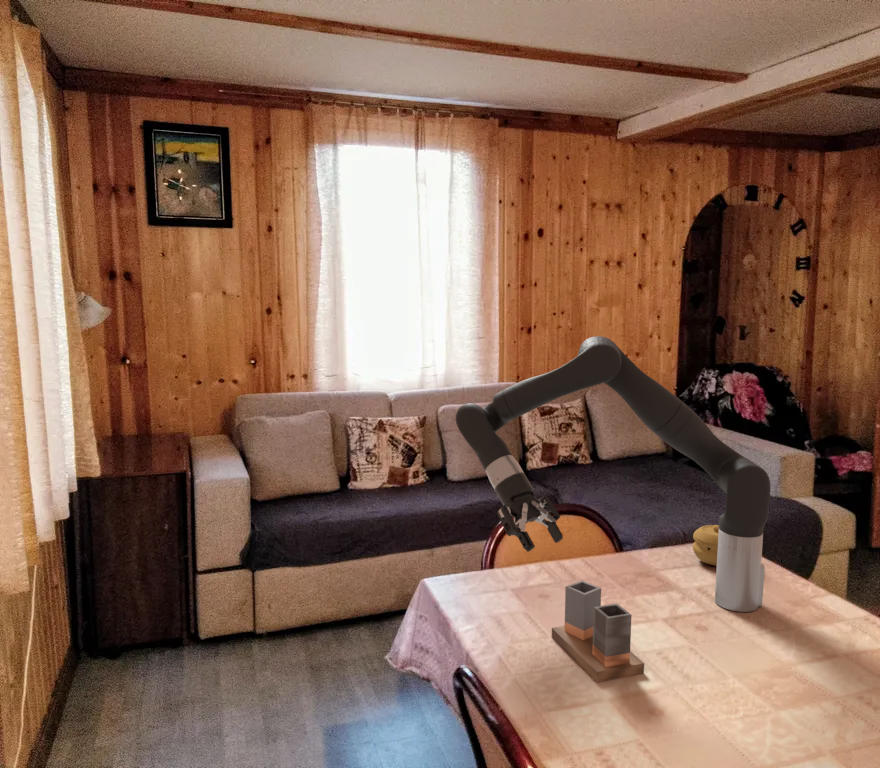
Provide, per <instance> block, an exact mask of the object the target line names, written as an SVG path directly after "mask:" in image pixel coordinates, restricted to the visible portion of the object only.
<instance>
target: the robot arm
mask: <svg viewBox="0 0 880 768" xmlns="http://www.w3.org/2000/svg"><path fill="white" fill-rule="evenodd" d="M601 384H605V385H607V386H608V387H610V388H611V389H612V390H613V391H615V393H617V394H618V395H619V397H621V399H623V400H624V402H625V403H626V404H627V405H628V407H630V409H631V411H632V412H633V413H634V414H635V415H636V416H637V417H638V418H639V420H640V421H641V422H642V423H643V425H645V426H646V427H647V428H648V429H649V430H650V431H651V432H653V433H654V435H656V436H657V437H659V439H661V440H662V442H664V443H666V444H668V445H669V446H670V447H672V448H673V449H674V450H676V451H678V452H679V453H681V454H683V455H684V456H686V457H687V458H689V459H690V460H692V461H693V462H695V463H696V464H697V465H698V466H699V467H700V468H701V469H703V470H704V471H705V472H706V474H708V475H709V476H710V478H712V480H713V481H714V482H715V483H716V484H717V485H718V486H719V488H720V489H721V490H722V491H723V492H724V493H725V495H726V496H725V505H724V506H725V507H724V512H723V513H722V514H721V515H720V516H719V520H718V525H719V532H718V551H717V566H716V572H715V573H716V575H715V589H714V591H715V592H714V602H715V603H716V605H718V606H720V607H721V608H723V609H727V610H729V611H734V612H740V613H749V612H754V611H757V610H758V608H759V607H762V606H763V597H764V586H765V585H764V584H765V583H764V582H765V581H764V580H765V565H764V564H763V563H762V558H763V557H762V556H763V543H764V541H763V540H764V539H763V538H764V528H765V526H766V524H767V522H768V518H769V508H770V500H771V499H770V498H771V480H770V475H768V473H767V471H766V470H765V469H764V468H763V467H761V466H760V465H758V464H757V463H755V462H754V461H752V460H751V459H749V458H747V457H745V456H743V455H742V454H740V453H738V451H736V450H734V449H733V448H732V447H730V446H729V445H727V444H726V443H724V442H723V441H722V440H720V439H719V437H717V436H716V435H715V433H714V432H713V431H712V430H711V429H710V427H709V426H708V425H707V424H706V423H705V421H704V420H703V419H702V418H701V417H700V416H699V415H698V414H697V413H696V412H695V411H694V410H693V409H691V407H689V406H688V405H687V404H686V403H684V402H683V400H682V399H680V398H679V397H677V396H676V395H675V394H673V393H672V392H671V391H670V390H668V389H667V388H665V387H664V386H662V385H663V384H660V383H659V382H658V381H656V380H655V379H653V378H652V377H650V376H649V375H648V374H646V373H645V372H644V371H643V370H641V369H640V368H639V367H638V366H637V365H636V364H635V363H634V362H633V361H632V360H631V358H629V357H628V356H627V355H626V354H625V353H624V351H623V350H622V349H621V348H620V347H619V346H618V345H617V344H616V343H615V342H614V341H613V340H612V339H610V338H608V337H606V336H605V337H604V336H600V335H598V336H590V337H588V338H587V339H585V340H584V341H583V342H582V343H581V345H580V346H579V349H578V352H577V356H576V357H574V358H572V359H571V360H569V362H566V363H565V364H563V365H561V366H560V367H558V368H556V369H553V370H551V371H548V372H546V373H543V374H539V375H536V376H533V377H529V378H527V379H523V380H521V381H519V382H517V383H515V384H512V385H510V386H508V387H507V388H504V389H503V390H501V391H499V392H497V393H496V394H494V396H493V398H492V402H491V403H488V404H487V405H485V406H484V407H482V406H481V405H478V404H476V403H472V402H471V403H470V402H469V403H464V404H462V405H461V406H460V407H459V408H458V409H457V411H456V412H455V413H456V414H455V422H456V426H457V429H458V431H459V432H460V434H461V435H462V436H463V438H464V439H465V441H466V442H467V444H468V445H469V446H470V447H471V448H472V450H473V451H474V454H476V456H477V458H478V459H479V462H480V464H481V466H482V467H483V469H484V471H485V474H486V476H487V477H488V480H489V483H490V484H491V486H492V488H493V489H494V492H495V493H496V495H497V497H498V498H499V500H500V502H501V504H502V507H500V509H499V510H498V511H497V512H496V515H497V517H498V519H499V521H500V523H501V525H502V526H503V529H504V530H505V533H506V536H509V537H512V536H515V537H516V538H517V539H518V540H519V542H520V544H521V545H522V548H524V550H525V551H526V553H528V552H531V551H532V550H534V549H535V548H536V547H535V546H536V545H535V543H534V542H533V540H532V538H531V537H530V534H529V533H528V531H526V524H528V523H532V522H536V523H537V524H542V525H543V526H545V527H546V528H547V529H546V530H547V531H548V533H549V534H550V536H551V538H552V540H553V541H554V543H555V544H557V543H560V541H562V540H563V539H564V538H563V537H564V536H563V533H562V532H561V530H560V528H559V526H558V524H557V521H558V520H559V519H560V518H561V515H560V514H559V512H558V510H557V509H556V507H555V506H554V504H553V502H552V501H551V500H550V498H549V497H548V495H546V494H544V495H543V496H542V497H541V498H537V497H536V496H535V495H534V494H535V493H534V488H533V485H532V484H531V482H530V481H529V479H528V477H527V476H526V474H525V472H524V471H523V469H522V467H521V465H520V464H519V462H518V461H517V460H516V459H515V457H514V456H513V454H512V452H511V451H510V449H509V446H508V445H507V444H506V442H505V441H504V440H503V438H501V437H500V435H498V434H497V432H498V431H499V430H500V429H502V428H504V426H505V425H507V424H508V423H510V421H513V420H516V419H517V418H519V417H521V416H523V415H525V414H528V413H530V412H532V411H533V410H535V409H538V408H539V407H542V406H544V405H546V404H548V403H550V402H553V401H554V400H557V399H559V398H562V397H564V396H567V395H570V394H572V393H575V392H577V391H581V390H584V389H588V388H591V387H594V386H598V385H601Z"/></svg>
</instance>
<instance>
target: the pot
mask: <svg viewBox="0 0 880 768" xmlns="http://www.w3.org/2000/svg"><path fill="white" fill-rule="evenodd" d="M718 532H719V524H710V525H709V524H707V525H703V526H700V527H699V528H697V529H696V530H695V531H694V532H693V535H692V537H693V540H694V542H693V543H692V550H693V552H694V554H695V556H696V558H698V559H699V561H701V562H703V563H704V564H707V565H711V566H715V567H717V551H718Z"/></svg>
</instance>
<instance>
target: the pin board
mask: <svg viewBox="0 0 880 768" xmlns="http://www.w3.org/2000/svg"><path fill="white" fill-rule="evenodd" d="M631 636H632V614H631V613H630V612H629V611H628V610H627V609H625V608H623V606H621V605H620V604H618V603H612V604H603V605H601V606H597V607H594V618H593V636H592V637H590V638H587V639H585V640H582V639H580V638H578V637H576V636H574V635H572V634H570V633H568V632H566V631H565V625H562V626H561V625H560V626H556V627H552V628H551V638H552V639H553V640H554V641H555V642H556V643H557V644H558V645H559V646H560V647H561V649H563V650H564V651H565V652H566V654H567V655H569V656H570V657H571V658H572V660H573V661H575V662H576V663H577V664H578V665H579V667H581V668H582V669H583V670H584V671H585V672H586V673H587V674H588V675H589V677H591V679H593V681H595V682H596V683H600V682H605V681H611V680H615V679H621V678H627V677H630V676H637V675H642V674H645V662H643V660H641V659H640V658H639V657H638V656H637V655H635V653H633V652H632V651H631V643H632V642H631V640H632V637H631Z"/></svg>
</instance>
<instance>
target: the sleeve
mask: <svg viewBox="0 0 880 768" xmlns="http://www.w3.org/2000/svg"><path fill="white" fill-rule="evenodd" d="M564 597H565V598H564V601H565V602H564V604H565V605H564V626H565V631H566V632H568V633H570V634H572V635H574V636H576V637H578V638H580V639H582V640H585V639H587V638H590V637H592V636H593V618H594V607H597V606H602V604H601V603H602V588H601V587H599V586H598V585H595V584H592V583H589V582H587V581H585V580H579V581H577V582H574V583H571V584H568V585H566V586H565V596H564Z"/></svg>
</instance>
